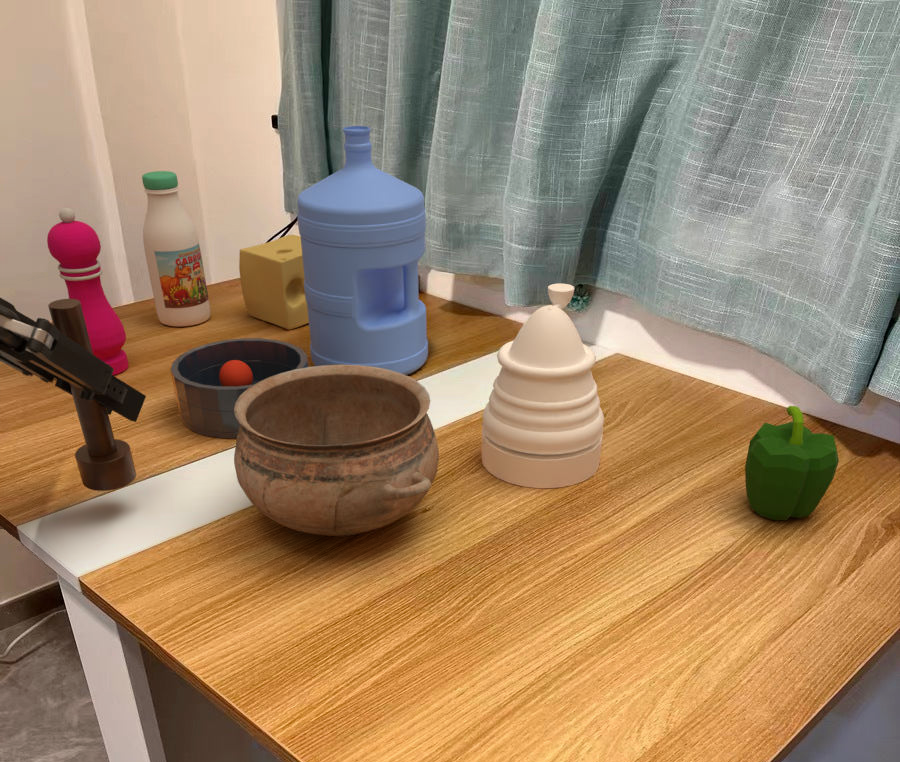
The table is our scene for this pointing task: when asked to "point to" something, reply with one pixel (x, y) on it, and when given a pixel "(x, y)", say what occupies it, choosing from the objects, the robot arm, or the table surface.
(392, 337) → the water jug
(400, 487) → the cooking pot
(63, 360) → the robot arm
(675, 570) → the table surface
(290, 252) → the cheese
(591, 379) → the honey pot
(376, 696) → the table surface
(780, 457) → the bell pepper
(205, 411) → the bowl
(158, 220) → the milk bottle
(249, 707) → the table surface
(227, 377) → the ball
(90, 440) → the wooden peg on base
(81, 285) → the pepper mill
